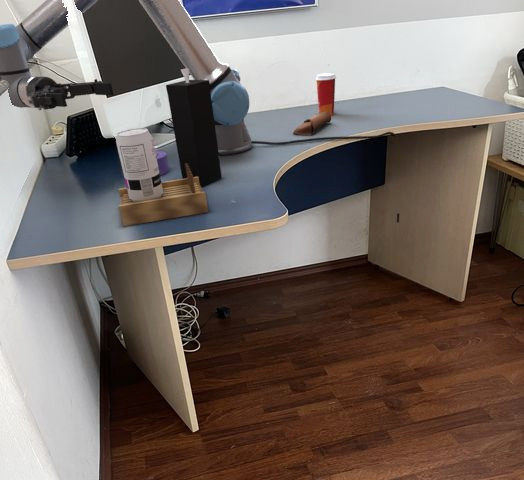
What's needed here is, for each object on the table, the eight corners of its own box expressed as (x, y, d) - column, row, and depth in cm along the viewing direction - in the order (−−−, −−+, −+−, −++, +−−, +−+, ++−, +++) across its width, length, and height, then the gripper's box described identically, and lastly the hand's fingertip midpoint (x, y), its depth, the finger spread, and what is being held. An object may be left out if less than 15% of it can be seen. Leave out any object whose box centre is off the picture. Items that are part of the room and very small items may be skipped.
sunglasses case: (309, 121, 194) (318, 104, 189) (325, 131, 194) (334, 115, 189) (291, 133, 181) (299, 115, 176) (308, 144, 181) (317, 127, 176)
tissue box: (202, 175, 151) (185, 65, 135) (222, 178, 146) (207, 65, 130) (182, 183, 146) (162, 70, 130) (202, 186, 141) (184, 70, 126)
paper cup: (326, 111, 209) (325, 72, 201) (340, 113, 203) (340, 73, 196) (312, 115, 205) (310, 75, 197) (326, 117, 200) (325, 76, 192)
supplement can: (123, 199, 127) (107, 134, 118) (151, 190, 131) (138, 126, 123) (141, 205, 122) (126, 138, 113) (170, 195, 126) (158, 129, 118)
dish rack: (201, 194, 136) (195, 160, 131) (208, 212, 124) (202, 174, 120) (123, 207, 133) (114, 172, 128) (123, 226, 122) (114, 188, 117)
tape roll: (176, 167, 160) (173, 150, 157) (155, 179, 151) (152, 161, 149) (143, 166, 164) (140, 150, 162) (122, 178, 156) (117, 161, 153)
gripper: (84, 98, 147) (132, 100, 135) (1, 118, 132) (48, 123, 120) (76, 68, 143) (125, 68, 131) (-10, 85, 128) (37, 86, 116)
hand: (88, 94), depth 126 cm, fingers open, 13 cm apart
